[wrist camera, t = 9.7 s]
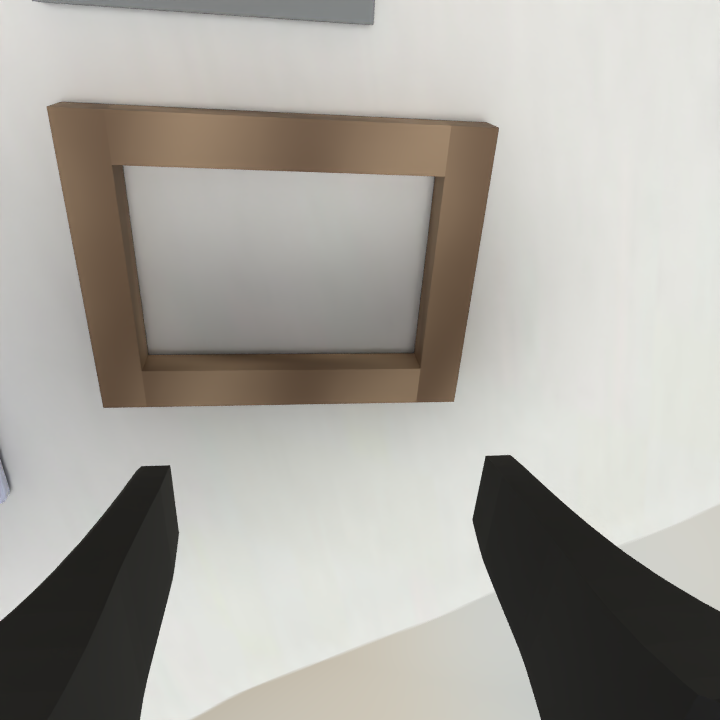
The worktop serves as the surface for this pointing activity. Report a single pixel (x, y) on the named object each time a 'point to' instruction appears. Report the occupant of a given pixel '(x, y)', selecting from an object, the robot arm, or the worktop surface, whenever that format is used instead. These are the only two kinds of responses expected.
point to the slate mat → (254, 8)
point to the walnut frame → (275, 153)
